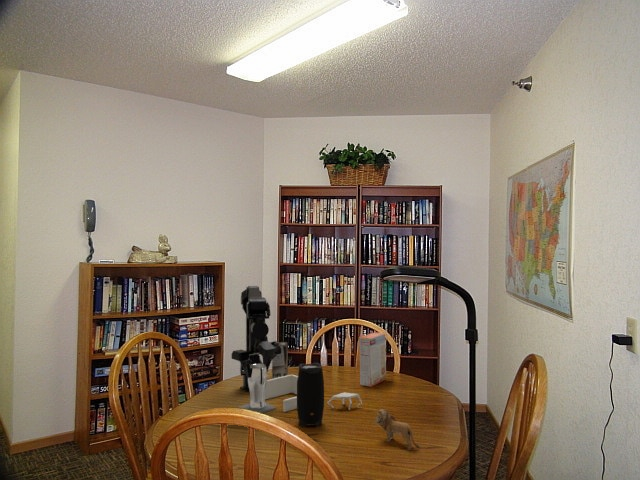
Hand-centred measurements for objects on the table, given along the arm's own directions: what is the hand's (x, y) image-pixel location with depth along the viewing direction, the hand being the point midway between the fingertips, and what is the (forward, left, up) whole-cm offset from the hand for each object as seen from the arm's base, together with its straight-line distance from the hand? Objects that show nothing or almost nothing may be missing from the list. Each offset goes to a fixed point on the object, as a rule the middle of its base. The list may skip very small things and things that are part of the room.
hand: (257, 375), depth 174 cm
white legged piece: (+20, +24, -12) cm, 34 cm away
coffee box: (-24, +29, -12) cm, 40 cm away
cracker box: (+6, +57, -12) cm, 59 cm away
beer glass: (0, 0, -12) cm, 12 cm away
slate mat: (0, 0, -12) cm, 12 cm away
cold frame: (+1, +14, -12) cm, 18 cm away
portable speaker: (+24, +5, -12) cm, 27 cm away
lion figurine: (+53, +14, -12) cm, 56 cm away
